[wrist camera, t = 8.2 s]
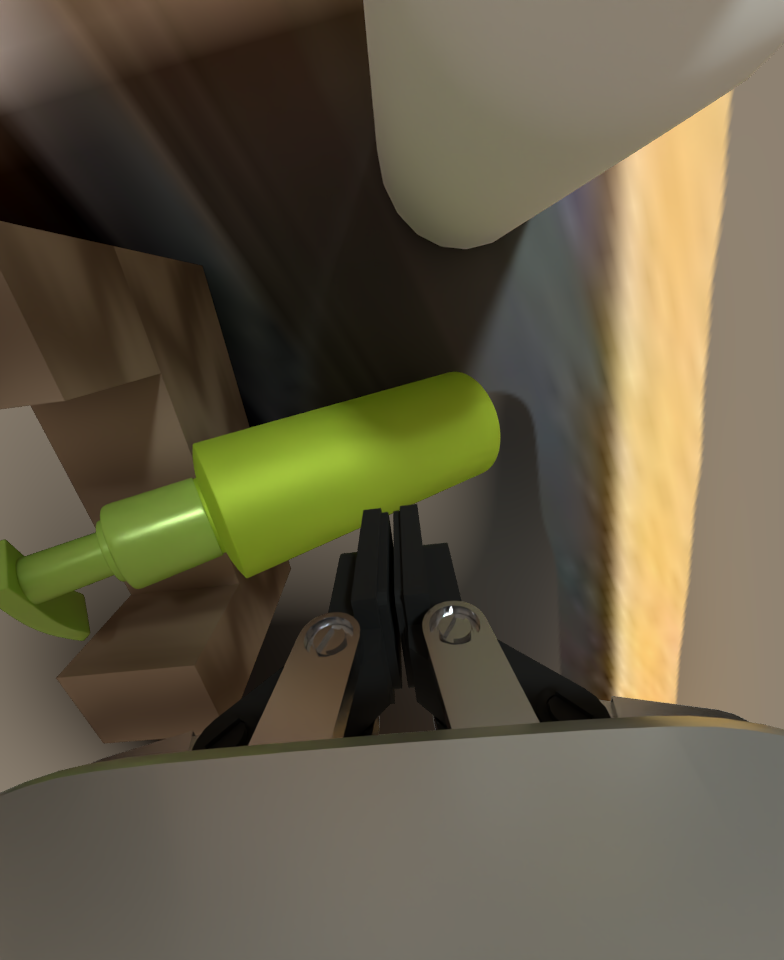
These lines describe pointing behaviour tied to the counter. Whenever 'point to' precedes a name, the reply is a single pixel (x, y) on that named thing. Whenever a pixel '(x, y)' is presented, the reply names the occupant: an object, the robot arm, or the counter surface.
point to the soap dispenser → (266, 496)
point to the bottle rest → (134, 463)
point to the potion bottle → (540, 96)
